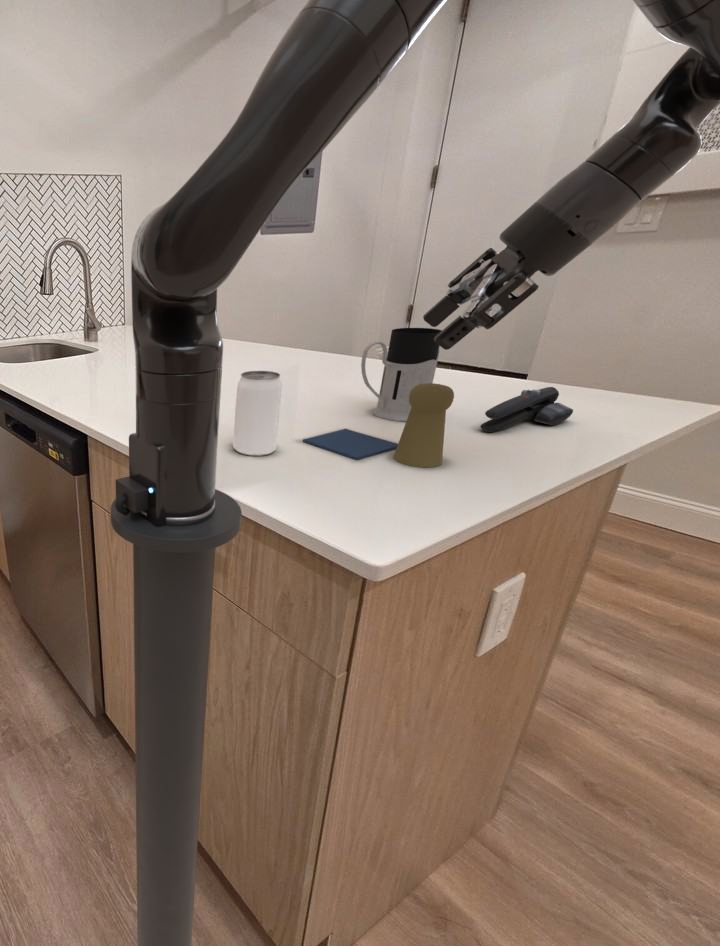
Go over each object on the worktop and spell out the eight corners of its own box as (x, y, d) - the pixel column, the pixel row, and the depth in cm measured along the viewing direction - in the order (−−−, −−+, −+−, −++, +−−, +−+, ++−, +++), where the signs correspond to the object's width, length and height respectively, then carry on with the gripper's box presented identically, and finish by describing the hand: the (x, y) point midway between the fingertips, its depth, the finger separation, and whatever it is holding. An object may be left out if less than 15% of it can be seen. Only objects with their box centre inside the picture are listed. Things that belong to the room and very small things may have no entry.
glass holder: (440, 418, 92) (460, 331, 86) (370, 427, 90) (385, 338, 84) (402, 406, 100) (418, 325, 94) (337, 414, 98) (349, 332, 92)
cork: (449, 467, 72) (469, 389, 68) (402, 466, 73) (418, 390, 69) (431, 452, 78) (448, 379, 73) (387, 452, 79) (401, 380, 74)
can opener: (530, 412, 93) (539, 381, 91) (576, 422, 87) (587, 389, 85) (460, 427, 88) (468, 394, 85) (503, 438, 82) (513, 403, 79)
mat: (356, 460, 77) (357, 457, 76) (302, 441, 85) (302, 439, 85) (401, 447, 80) (401, 444, 80) (345, 430, 89) (345, 428, 89)
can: (284, 453, 80) (292, 376, 76) (246, 459, 79) (252, 380, 74) (260, 440, 86) (267, 368, 81) (225, 445, 85) (229, 372, 80)
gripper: (520, 191, 63) (403, 300, 74) (564, 210, 52) (420, 335, 63) (567, 229, 64) (444, 332, 74) (620, 255, 53) (467, 371, 63)
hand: (433, 333), depth 69 cm, fingers open, 8 cm apart
